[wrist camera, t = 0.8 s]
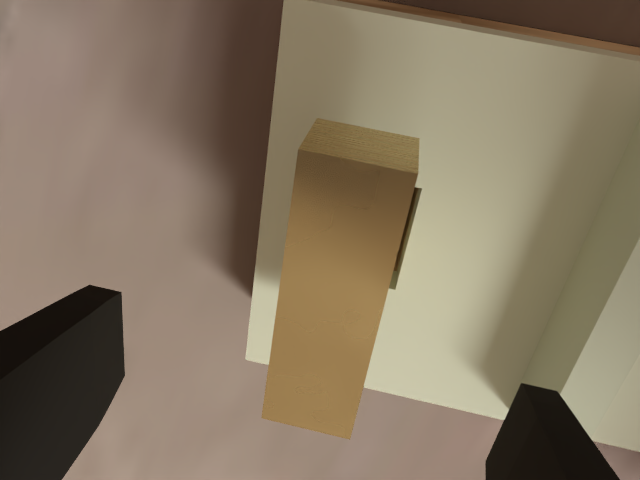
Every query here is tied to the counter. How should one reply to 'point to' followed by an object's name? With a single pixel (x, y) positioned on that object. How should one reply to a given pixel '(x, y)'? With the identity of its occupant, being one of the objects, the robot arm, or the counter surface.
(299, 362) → the tan t-shaped block
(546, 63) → the cover
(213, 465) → the counter surface
